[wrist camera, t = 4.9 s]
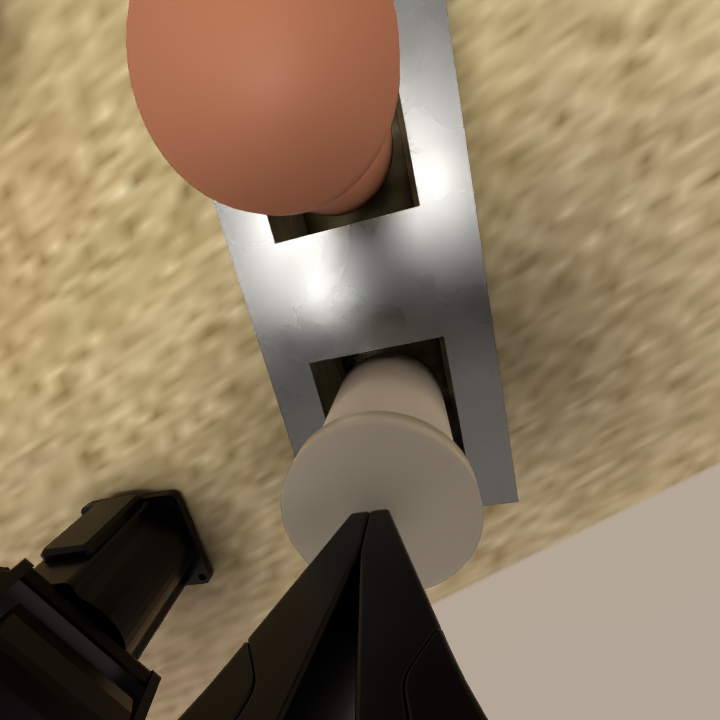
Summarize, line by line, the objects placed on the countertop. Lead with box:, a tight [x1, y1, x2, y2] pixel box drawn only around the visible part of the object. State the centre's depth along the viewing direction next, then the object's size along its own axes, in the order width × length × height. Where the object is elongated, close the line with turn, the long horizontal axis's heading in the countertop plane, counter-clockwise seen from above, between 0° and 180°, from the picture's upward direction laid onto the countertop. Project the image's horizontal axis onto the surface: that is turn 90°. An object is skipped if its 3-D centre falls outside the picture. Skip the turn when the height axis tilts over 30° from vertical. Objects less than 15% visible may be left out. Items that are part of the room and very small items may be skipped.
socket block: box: [213, 0, 518, 506], centre depth 14 cm, size 27×8×5 cm, turn 14°
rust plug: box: [126, 0, 400, 216], centre depth 9 cm, size 5×5×6 cm
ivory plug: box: [281, 353, 484, 589], centre depth 12 cm, size 5×5×6 cm
